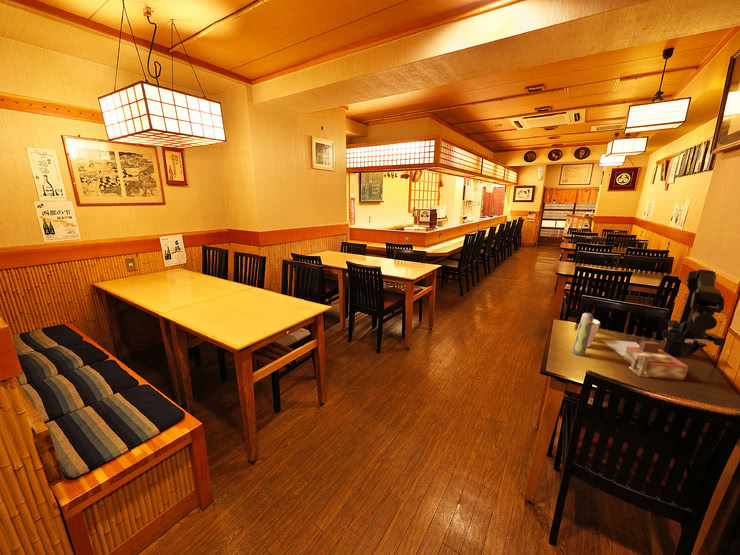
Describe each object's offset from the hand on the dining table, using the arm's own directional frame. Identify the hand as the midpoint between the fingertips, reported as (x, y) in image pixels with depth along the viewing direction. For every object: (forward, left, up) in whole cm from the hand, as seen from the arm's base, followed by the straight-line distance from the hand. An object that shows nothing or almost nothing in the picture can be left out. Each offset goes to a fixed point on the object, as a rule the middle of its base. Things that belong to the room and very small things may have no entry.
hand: (685, 356), depth 124 cm
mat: (+5, -21, -9) cm, 24 cm away
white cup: (+20, -30, -9) cm, 38 cm away
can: (+26, -22, -9) cm, 36 cm away
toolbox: (+9, -4, -9) cm, 13 cm away
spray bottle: (+33, -12, -9) cm, 37 cm away
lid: (+7, -4, -4) cm, 9 cm away
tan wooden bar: (+13, 0, -3) cm, 13 cm away
